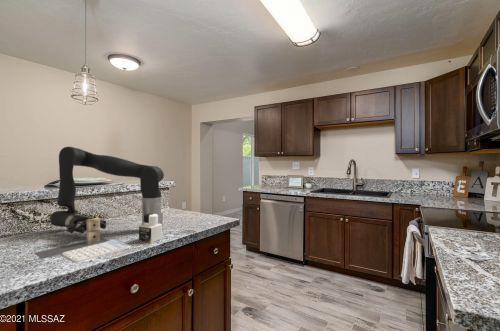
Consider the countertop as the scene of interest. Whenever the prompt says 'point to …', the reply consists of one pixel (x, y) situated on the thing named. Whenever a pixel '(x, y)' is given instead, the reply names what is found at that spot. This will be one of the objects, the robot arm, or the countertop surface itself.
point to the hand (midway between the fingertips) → (94, 228)
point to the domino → (93, 230)
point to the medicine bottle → (150, 229)
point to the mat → (66, 248)
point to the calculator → (94, 250)
